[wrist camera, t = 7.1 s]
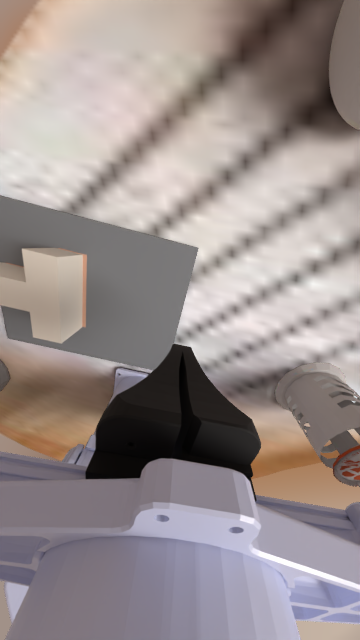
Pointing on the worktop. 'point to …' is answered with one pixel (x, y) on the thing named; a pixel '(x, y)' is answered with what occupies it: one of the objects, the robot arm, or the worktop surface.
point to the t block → (46, 291)
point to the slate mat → (104, 283)
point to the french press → (325, 414)
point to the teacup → (346, 63)
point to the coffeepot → (3, 375)
